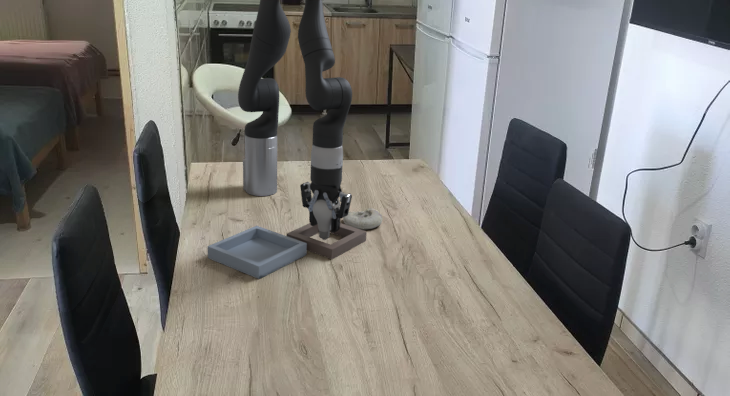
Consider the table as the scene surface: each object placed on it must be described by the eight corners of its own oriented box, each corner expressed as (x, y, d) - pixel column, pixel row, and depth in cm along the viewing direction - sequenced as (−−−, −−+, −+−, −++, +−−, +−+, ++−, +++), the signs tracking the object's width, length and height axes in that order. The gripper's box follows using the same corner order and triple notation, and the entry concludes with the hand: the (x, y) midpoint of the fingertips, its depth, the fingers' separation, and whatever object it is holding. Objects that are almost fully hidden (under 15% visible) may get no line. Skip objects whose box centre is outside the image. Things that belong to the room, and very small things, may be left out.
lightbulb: (327, 246, 156) (329, 204, 153) (306, 240, 159) (308, 198, 155) (341, 238, 162) (343, 197, 158) (320, 232, 164) (321, 191, 160)
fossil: (362, 200, 179) (392, 213, 174) (360, 212, 180) (389, 225, 175) (337, 210, 170) (367, 224, 165) (335, 223, 172) (364, 237, 167)
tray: (207, 258, 149) (207, 246, 148) (256, 236, 161) (256, 225, 160) (259, 279, 141) (259, 266, 140) (306, 254, 153) (306, 243, 152)
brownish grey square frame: (286, 243, 159) (286, 233, 158) (322, 226, 170) (322, 217, 169) (331, 259, 152) (332, 249, 151) (366, 240, 162) (366, 231, 162)
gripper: (292, 160, 154) (291, 225, 160) (342, 173, 147) (339, 241, 153) (311, 153, 160) (310, 216, 166) (360, 165, 153) (357, 231, 159)
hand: (324, 227), depth 159 cm, fingers closed on lightbulb, 5 cm apart
